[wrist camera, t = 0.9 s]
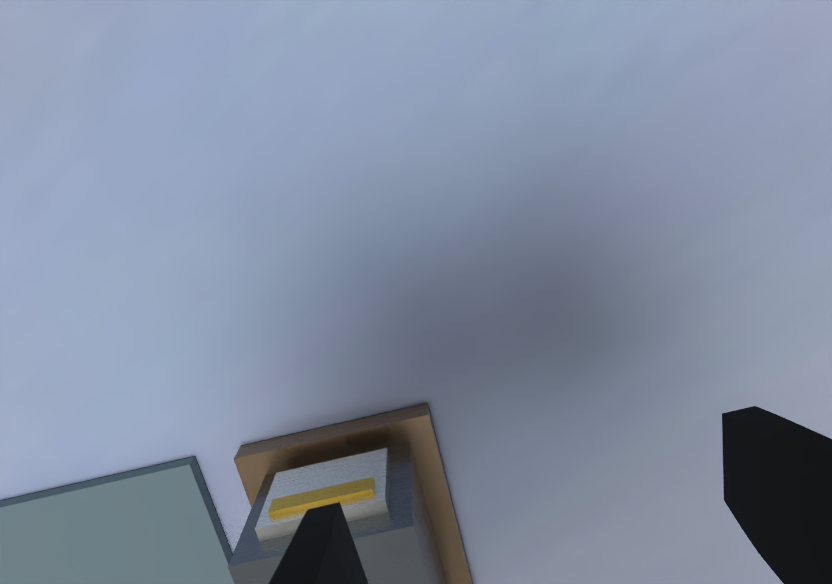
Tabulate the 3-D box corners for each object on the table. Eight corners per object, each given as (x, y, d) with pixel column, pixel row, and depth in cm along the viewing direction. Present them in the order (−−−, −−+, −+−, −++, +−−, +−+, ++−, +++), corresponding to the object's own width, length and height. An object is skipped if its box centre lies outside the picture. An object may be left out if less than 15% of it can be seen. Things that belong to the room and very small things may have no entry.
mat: (265, 641, 25) (262, 653, 25) (60, 686, 26) (52, 698, 25) (194, 456, 23) (189, 464, 22) (-32, 508, 23) (-44, 517, 22)
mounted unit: (475, 596, 25) (498, 731, 19) (307, 632, 25) (280, 777, 19) (427, 403, 22) (437, 491, 17) (240, 445, 23) (186, 547, 17)
